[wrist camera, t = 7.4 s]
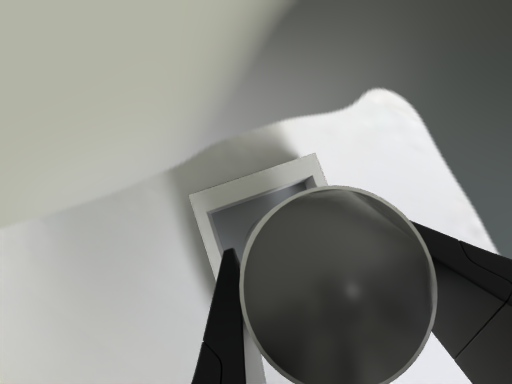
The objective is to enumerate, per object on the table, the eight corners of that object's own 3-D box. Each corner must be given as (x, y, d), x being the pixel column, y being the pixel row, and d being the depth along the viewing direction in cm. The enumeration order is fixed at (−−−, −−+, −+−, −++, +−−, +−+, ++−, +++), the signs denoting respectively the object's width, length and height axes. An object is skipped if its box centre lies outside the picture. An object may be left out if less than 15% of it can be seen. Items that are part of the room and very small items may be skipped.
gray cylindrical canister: (303, 302, 16) (404, 431, 6) (229, 271, 16) (205, 346, 6) (330, 228, 16) (459, 229, 7) (259, 198, 17) (284, 156, 7)
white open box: (353, 287, 20) (376, 300, 16) (238, 333, 19) (236, 356, 15) (305, 164, 21) (317, 151, 18) (195, 201, 20) (185, 196, 17)
